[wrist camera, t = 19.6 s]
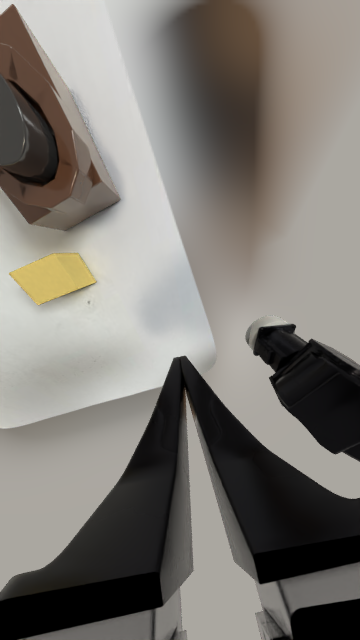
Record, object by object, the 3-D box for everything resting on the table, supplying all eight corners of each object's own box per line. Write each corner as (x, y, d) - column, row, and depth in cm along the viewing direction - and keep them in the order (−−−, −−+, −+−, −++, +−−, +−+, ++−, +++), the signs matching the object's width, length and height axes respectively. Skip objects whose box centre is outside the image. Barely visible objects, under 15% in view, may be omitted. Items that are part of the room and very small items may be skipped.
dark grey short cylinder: (71, 166, 10) (42, 143, 7) (28, 194, 10) (-10, 178, 8) (20, 76, 8) (-36, 12, 6) (-28, 115, 8) (-95, 70, 6)
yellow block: (78, 252, 17) (53, 253, 14) (96, 282, 19) (78, 289, 16) (40, 268, 18) (7, 273, 14) (62, 295, 20) (37, 305, 16)
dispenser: (126, 206, 15) (98, 179, 10) (69, 237, 16) (12, 230, 11) (70, 86, 11) (-34, -81, 6) (1, 138, 13) (-144, 43, 7)
